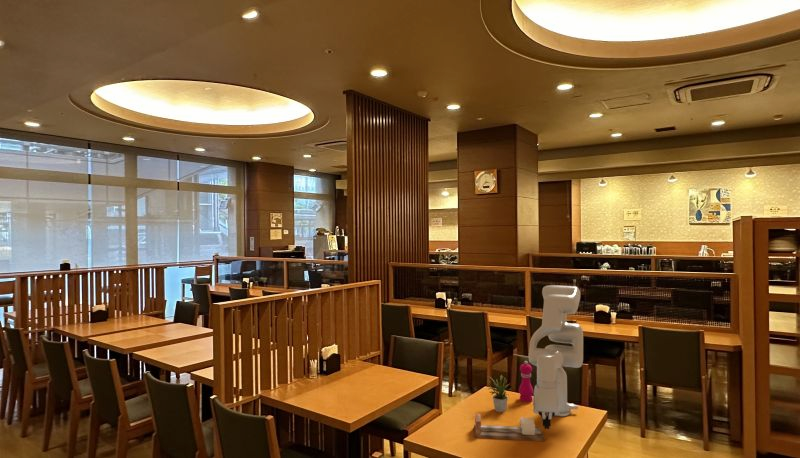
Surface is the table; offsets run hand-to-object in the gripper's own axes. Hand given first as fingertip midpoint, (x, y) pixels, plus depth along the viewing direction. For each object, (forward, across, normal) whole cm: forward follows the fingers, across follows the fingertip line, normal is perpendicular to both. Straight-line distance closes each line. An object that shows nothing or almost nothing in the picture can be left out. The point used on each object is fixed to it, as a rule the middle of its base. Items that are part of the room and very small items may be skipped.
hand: (546, 427), depth 190 cm
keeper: (+2, +8, 0) cm, 8 cm away
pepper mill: (+4, +2, -42) cm, 42 cm away
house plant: (+4, +17, -28) cm, 33 cm away
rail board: (+4, +16, 0) cm, 16 cm away
